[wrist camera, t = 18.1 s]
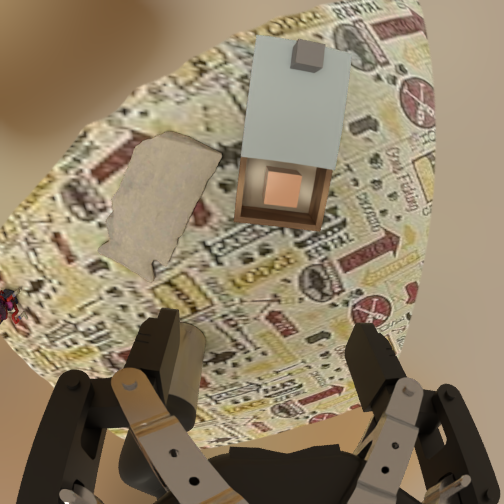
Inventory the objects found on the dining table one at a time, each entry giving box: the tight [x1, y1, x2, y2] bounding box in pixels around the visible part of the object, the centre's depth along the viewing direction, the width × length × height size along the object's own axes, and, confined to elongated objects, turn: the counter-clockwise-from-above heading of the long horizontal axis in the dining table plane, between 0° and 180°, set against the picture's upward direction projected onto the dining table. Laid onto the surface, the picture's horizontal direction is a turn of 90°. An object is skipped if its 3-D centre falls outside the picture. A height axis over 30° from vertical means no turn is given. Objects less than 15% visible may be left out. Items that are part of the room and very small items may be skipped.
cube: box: [262, 166, 302, 208], centre depth 40 cm, size 4×4×4 cm
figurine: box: [0, 289, 28, 324], centre depth 45 cm, size 8×9×15 cm
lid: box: [241, 35, 352, 170], centre depth 30 cm, size 16×12×5 cm
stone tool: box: [97, 131, 222, 283], centre depth 42 cm, size 13×4×25 cm
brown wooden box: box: [234, 157, 332, 231], centre depth 38 cm, size 16×12×6 cm
